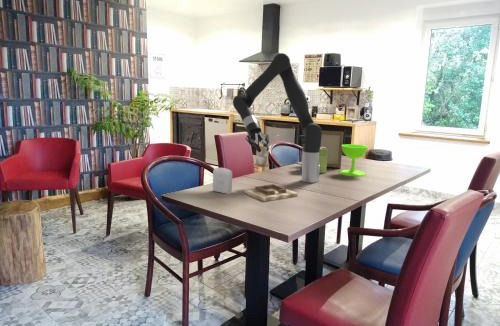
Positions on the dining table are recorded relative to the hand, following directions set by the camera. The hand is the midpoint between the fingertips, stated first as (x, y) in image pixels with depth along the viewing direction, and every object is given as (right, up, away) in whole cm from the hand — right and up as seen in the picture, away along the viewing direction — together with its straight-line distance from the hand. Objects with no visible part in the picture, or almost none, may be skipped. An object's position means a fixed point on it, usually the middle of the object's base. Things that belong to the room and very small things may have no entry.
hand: (263, 151), depth 192 cm
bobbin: (-1, -8, +3) cm, 8 cm away
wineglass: (+59, -13, +45) cm, 75 cm away
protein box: (+35, -12, +51) cm, 63 cm away
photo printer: (-21, -21, -6) cm, 30 cm away
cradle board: (+3, -22, -9) cm, 24 cm away
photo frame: (+46, -8, +70) cm, 84 cm away
